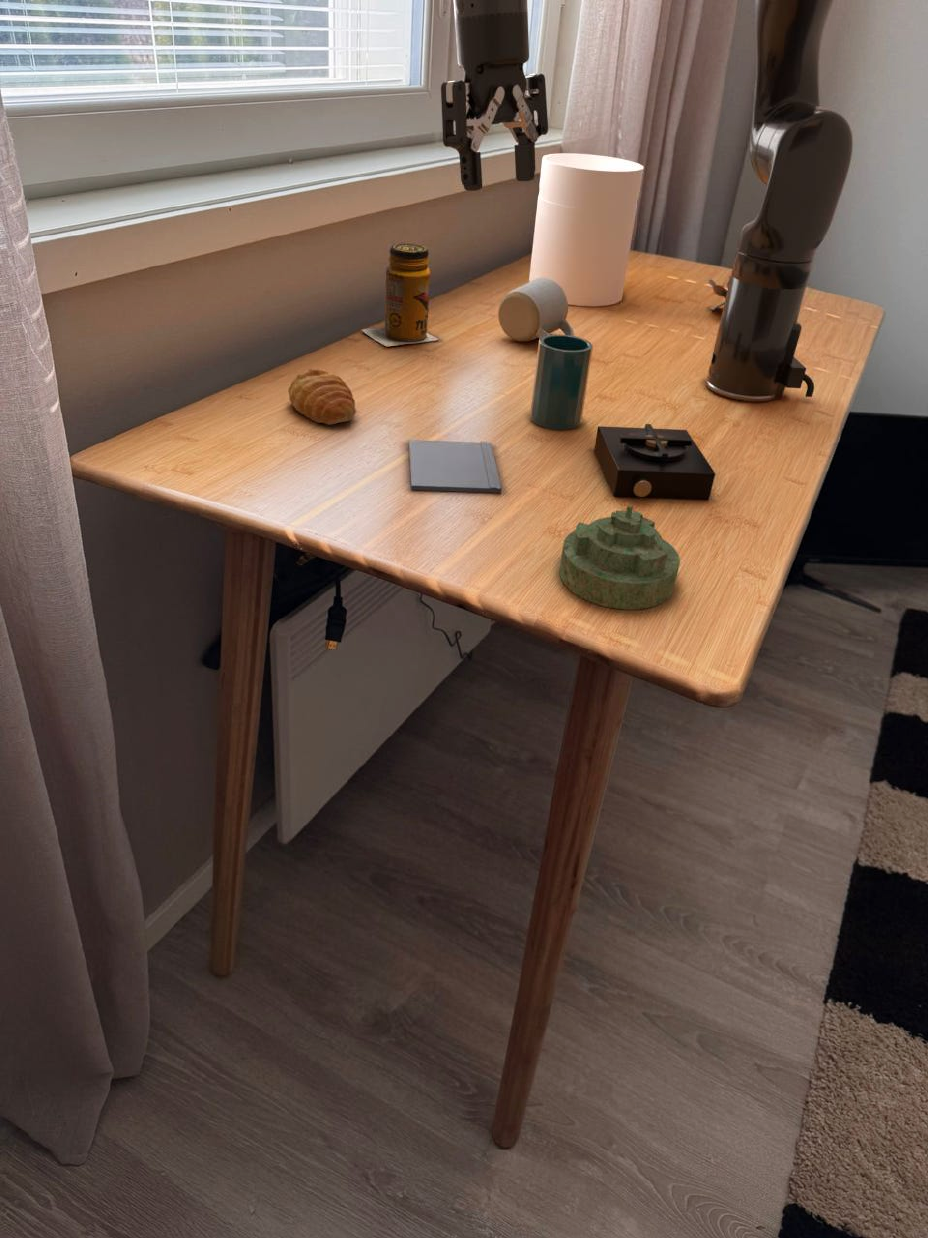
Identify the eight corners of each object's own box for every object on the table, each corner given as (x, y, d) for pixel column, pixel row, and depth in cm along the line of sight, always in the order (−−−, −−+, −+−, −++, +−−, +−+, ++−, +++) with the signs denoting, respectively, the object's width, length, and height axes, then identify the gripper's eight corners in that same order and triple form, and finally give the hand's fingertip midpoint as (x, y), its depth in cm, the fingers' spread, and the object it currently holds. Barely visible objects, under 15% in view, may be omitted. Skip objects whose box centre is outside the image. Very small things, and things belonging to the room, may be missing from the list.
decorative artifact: (563, 541, 85) (554, 599, 77) (574, 472, 81) (565, 525, 73) (672, 558, 84) (674, 618, 76) (688, 488, 80) (693, 544, 72)
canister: (628, 309, 150) (651, 174, 139) (530, 301, 150) (545, 166, 138) (616, 283, 163) (636, 158, 152) (526, 275, 163) (539, 149, 151)
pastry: (370, 423, 105) (370, 391, 102) (315, 432, 101) (314, 399, 99) (335, 394, 111) (335, 363, 109) (282, 402, 108) (280, 370, 106)
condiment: (438, 340, 130) (444, 251, 123) (386, 347, 126) (388, 256, 119) (412, 325, 135) (415, 238, 128) (360, 331, 131) (361, 242, 124)
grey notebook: (490, 447, 102) (491, 442, 101) (500, 493, 93) (501, 487, 92) (408, 443, 101) (408, 438, 100) (411, 490, 92) (411, 484, 91)
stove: (680, 454, 104) (688, 419, 101) (711, 504, 94) (721, 467, 92) (593, 451, 103) (599, 415, 100) (615, 501, 93) (622, 463, 91)
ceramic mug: (491, 336, 133) (497, 281, 129) (521, 324, 139) (528, 271, 135) (554, 356, 129) (563, 300, 124) (582, 342, 135) (591, 289, 130)
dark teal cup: (576, 411, 112) (587, 335, 107) (584, 431, 107) (597, 353, 102) (527, 409, 112) (536, 333, 106) (533, 429, 107) (543, 350, 101)
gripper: (468, 9, 88) (480, 194, 97) (563, 6, 97) (566, 177, 105) (415, 17, 93) (430, 193, 101) (510, 14, 102) (517, 177, 110)
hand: (500, 185), depth 103 cm, fingers open, 8 cm apart
